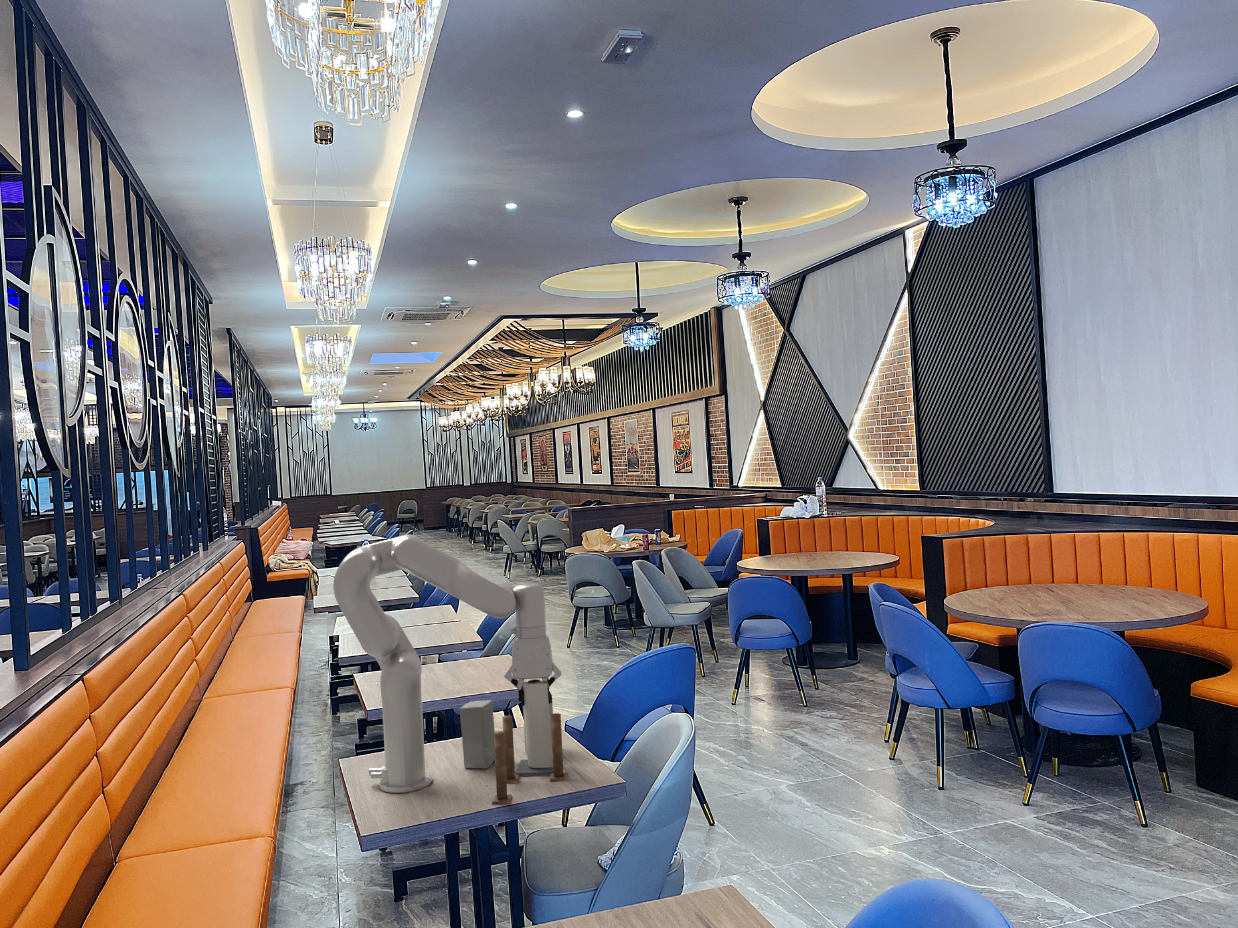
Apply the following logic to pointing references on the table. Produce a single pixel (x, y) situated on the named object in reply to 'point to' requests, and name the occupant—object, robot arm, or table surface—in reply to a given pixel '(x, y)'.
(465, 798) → the table surface
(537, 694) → the paper towel roll
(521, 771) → the mat
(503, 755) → the post
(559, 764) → the post
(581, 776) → the table surface
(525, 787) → the table surface
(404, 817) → the table surface
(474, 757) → the skincare box
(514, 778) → the post
